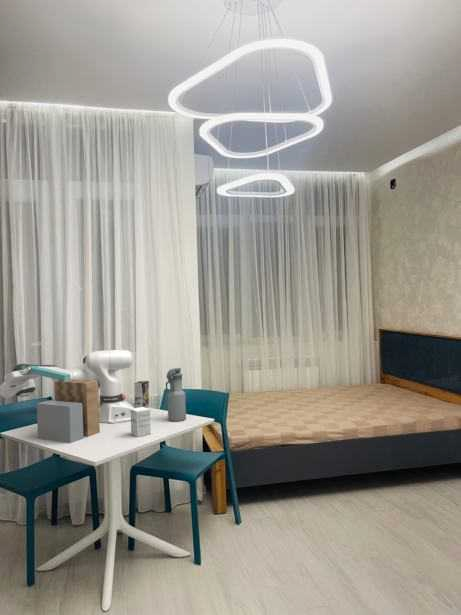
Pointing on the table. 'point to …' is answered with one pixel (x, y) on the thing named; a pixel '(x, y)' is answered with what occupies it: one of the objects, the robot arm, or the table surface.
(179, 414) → the water bottle
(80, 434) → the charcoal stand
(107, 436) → the table surface
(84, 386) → the walnut stand
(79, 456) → the table surface
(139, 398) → the coffee box
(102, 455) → the table surface
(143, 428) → the supplement box
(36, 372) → the teal batten
